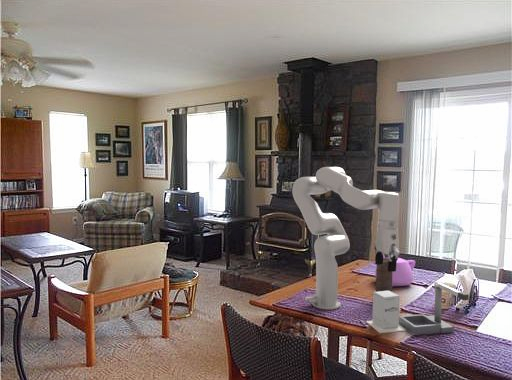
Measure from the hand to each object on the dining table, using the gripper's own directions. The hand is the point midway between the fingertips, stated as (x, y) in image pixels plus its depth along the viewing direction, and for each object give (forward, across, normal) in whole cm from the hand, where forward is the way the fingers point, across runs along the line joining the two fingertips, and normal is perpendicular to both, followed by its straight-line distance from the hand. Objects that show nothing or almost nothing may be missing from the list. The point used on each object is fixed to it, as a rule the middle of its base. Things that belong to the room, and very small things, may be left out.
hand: (385, 267), depth 159 cm
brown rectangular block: (+24, +26, -15) cm, 38 cm away
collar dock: (+23, -5, -15) cm, 28 cm away
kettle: (+25, +50, -34) cm, 66 cm away
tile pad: (+23, -2, -1) cm, 23 cm away
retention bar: (+7, -12, -21) cm, 25 cm away
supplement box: (+23, -1, -1) cm, 23 cm away
